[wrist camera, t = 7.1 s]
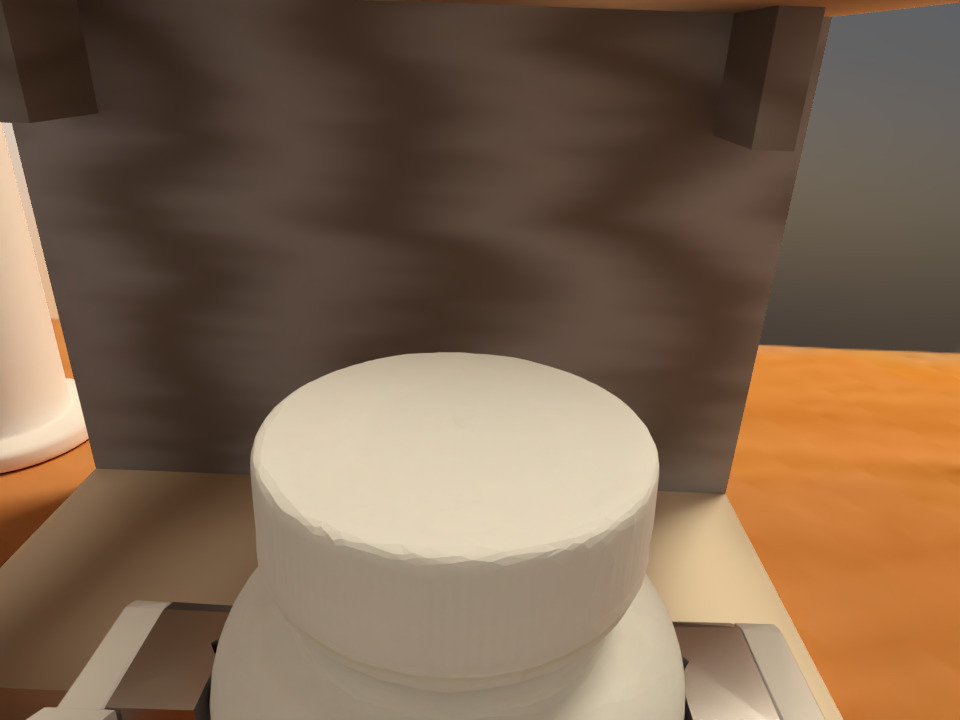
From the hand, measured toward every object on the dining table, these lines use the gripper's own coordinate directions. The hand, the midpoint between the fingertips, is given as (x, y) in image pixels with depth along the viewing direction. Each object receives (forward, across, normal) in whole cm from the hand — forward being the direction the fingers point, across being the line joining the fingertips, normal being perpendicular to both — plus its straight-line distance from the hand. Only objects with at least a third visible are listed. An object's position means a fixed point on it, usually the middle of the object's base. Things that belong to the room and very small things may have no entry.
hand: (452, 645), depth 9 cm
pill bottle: (-1, 0, +6) cm, 6 cm away
